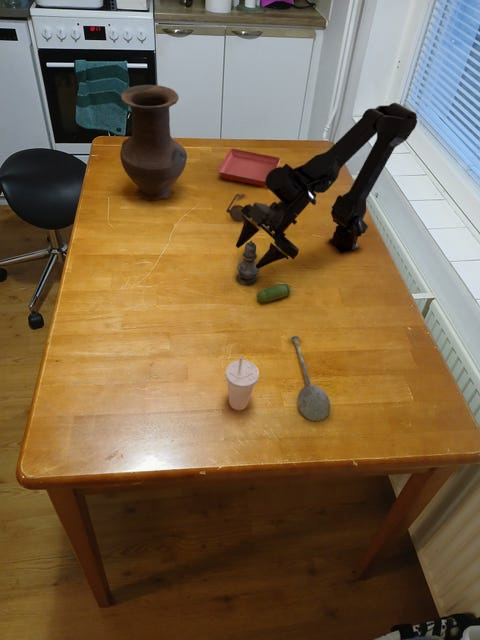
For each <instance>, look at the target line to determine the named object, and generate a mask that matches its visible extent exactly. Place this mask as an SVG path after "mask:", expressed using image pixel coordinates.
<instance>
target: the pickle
mask: <svg viewBox="0 0 480 640" xmlns="http://www.w3.org/2000/svg"><path fill="white" fill-rule="evenodd" d="M291 290H292V288H291V286H290V285H289V283H281V284H277V285H273V286H268V287H266V288H263V289H260V290H259V291H258V292H257V293H256V298H257V301H259V303H268V302H270V301H274V300H277V299H281V298H284V297H287V296H289V295H290V294H291Z"/></svg>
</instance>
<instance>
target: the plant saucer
mask: <svg viewBox="0 0 480 640" xmlns="http://www.w3.org/2000/svg"><path fill="white" fill-rule="evenodd" d="M280 162H281V157H279V156H276V155H275V156H273V155H268V154H263V153H259V152H253V151H249V150H243V149H238V148H233V147H232V148H230V149H229V150H228V152H227V153H226V155H225V157H224V159H223V161H222V162H221V164H220V166H219V168H218V170H217V173H219V175H220V176H221V177H222V178H223V179H224V180H231V181H235V182H239V183H246V184H249V185H250V184H251V185H254V186H259V187H267V186H266V184H265V180H266V177H267V175H268V173H269V172H270V171H271V170H273V169H275V168H278V167H279V164H280Z"/></svg>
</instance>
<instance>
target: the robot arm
mask: <svg viewBox="0 0 480 640" xmlns="http://www.w3.org/2000/svg"><path fill="white" fill-rule="evenodd" d="M417 118H418V116H417V113H416V112H414V111H412V110H411V109H409V108H407V107H405V106H403V105H401V104H399V103H398V102H392V103H390V104H389V105H378V106H376V107H375V108H368V109H366V110H365V111H364V113H363V114H362V115H361V118H360V119H359V120H357V122H356V123H355V124H353V126H351V128H349V130H348V131H347V132H346V133H344V134H343V135H342V137H340V138H339V139H338V140H337V141H336V142H335V143H334V144H333V145H332V146H331V147H330V148H329V149H328V150H327V151H325V152H322V153H318V154H316V155H314V156H313V157H312V158H310V159H309V160H308V161H306V162H305V163H304V164H301V165H299V166H296V167H294V168H293V167H292V166H290V165H289V164H288V163H285V164H283V166H278V167H277V168H275V169H273V170H271V171H270V172H269V173H268V175H267V177H266V180H265V184H266V186H265V187H266V189H268V190H269V191H270V192H271V193H272V194H273V195H274V196H275V197H276V198H277V199H278V200H279V201H278V202H276V201H274V202H271V204H270V205H267V204H263V203H261V202H257V201H256V202H255V201H254V203H252V204H251V203H250V204H249V203H248V204H246V205H243V207H244V208H243V209H242V210H241V212H242V213H243V214H244V216H243V215H242V218H243V221H242V223H243V224H242V227H241V231H240V234H239V236H238V238H237V241H236V244H235V247H236V248H238V249H239V248H241V247H242V246H245V245H246V243H248V242H249V241H250V240H251V238H253V237H254V236H255V235H256V234H257V233H259V231H260V228H261V229H262V230H264V232H265V233H266V234H267V235H269V236H270V238H271V239H272V240H274V241H273V242H274V244H273V243H272V242H270V243H269V248H268V250H267V251H266V252H265V254H264V255H262V257H261V258H260V259H259V260H258V262H256V263H257V265H256V266H255V267H256V268H257V269H259V268H260V269H261V268H264V267H265V266H268V265H270V264H272V263H275V262H277V261H280V260H284V259H286V260H289V259H292V260H294V259H295V258H296V257H298V255H299V251H300V249H299V248H298V247H297V246H296V244H294V243H293V242H292V241H291V240H290V239H289V238H287V237H286V235H287V234H286V233H285V232H286V230H288V228H289V227H290V226H292V225H294V226H295V225H296V224H297V223H298V221H297V220H296V219H297V218H298V216H299V215H300V214H301V213H302V212H303V211H304V210H305V209H306V208H307V206H309V204H312V205H313V206H316V205H317V194H320V193H321V194H323V193H325V192H327V191H329V189H330V188H331V187H332V185H334V183H335V182H336V181H337V179H338V178H339V175H340V171H341V169H342V168H343V166H344V165H345V164H346V163H347V162H348V161H350V159H352V158H353V157H354V155H356V154H357V153H358V152H359V151H360V150H361V149H362V147H364V146H365V145H366V144H367V143H368V142H369V141H370V140H371V139H372V138H373V137H374V136H375V135H376V139H375V141H374V143H373V145H372V147H371V149H370V151H369V152H368V155H367V157H366V158H365V161H364V162H363V164H362V166H361V168H360V170H359V172H358V174H357V175H356V177H355V179H354V181H353V183H352V185H351V187H350V188H349V190H348V192H346V193H344V194H343V195H342V194H339V195H338V196H336V199H335V202H334V203H333V205H332V206H331V207H330V208H331V210H330V215H331V218H332V222H333V223H335V224H336V226H335V230H334V231H333V234H332V238H329V239H328V243H330V244H331V245H332V246H333V247H334V248H335V249H336V250H337V252H339V253H340V254H346V253H348V252H352V251H356V250H357V251H358V250H359V249H360V246H359V245H358V244H357V242H358V239H359V237H362V234H365V233H366V231H367V230H368V228H369V225H368V224H367V223H366V222H365V220H364V217H365V215H366V213H367V199H368V198H369V195H370V194H371V191H372V189H373V188H374V186H375V184H376V183H377V181H378V179H379V177H380V175H381V174H382V171H383V170H384V169H385V166H386V165H387V163H388V161H389V160H390V158H391V155H392V154H393V153H394V150H395V148H397V147H399V146H400V145H401V144H403V143H404V142H405V141H407V140H408V138H409V137H410V136H411V134H412V133H413V131H414V130H415V129H416V127H417V125H418V119H417ZM267 225H268V226H267ZM266 226H267V227H266ZM258 227H260V228H258Z"/></svg>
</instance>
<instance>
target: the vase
mask: <svg viewBox="0 0 480 640" xmlns="http://www.w3.org/2000/svg"><path fill="white" fill-rule="evenodd" d="M120 98H121V101H122V103H123V104H124V105H126V106H129V107H130V109H131V110H130V111H131V121H132V135H130V136H129V137H127V138H126V139H125V140H123V142H122V144H121V148H120V152H119V157H120V162H121V166H122V168H123V170H124V172H125V173H126V175H127V176H128V177H129V178H130V180H131V181H132V182H133V183H134V184H135V185H136V186H137V187H138V188H139V189H138V195H139V196H140V197H141V198H142V199H144V200H146V201H151V202H153V201H158V200H162V199H167V198H169V197H170V196H171V194H172V191H171V189H170V188H171V186H173V185H174V184H175V182H176V181H177V180H178V179H179V178H180V177H181V175H182V174H183V173H184V170H185V167H186V165H187V161H188V153H187V150H186V149H185V147H184V146H183V145H182V144H181V143H179V142H177V141H176V140H174V139H173V138H172V135H171V125H170V122H171V121H170V119H171V117H170V107H172V106H174V105H176V104H177V103H178V101H179V94H178V92H176V91H175V90H174V89H172V88H170V87H167V86H164V85H159V84H141V85H134V86H130V87H128V88H126V89H124V90H123V91H122V93H121V95H120Z"/></svg>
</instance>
